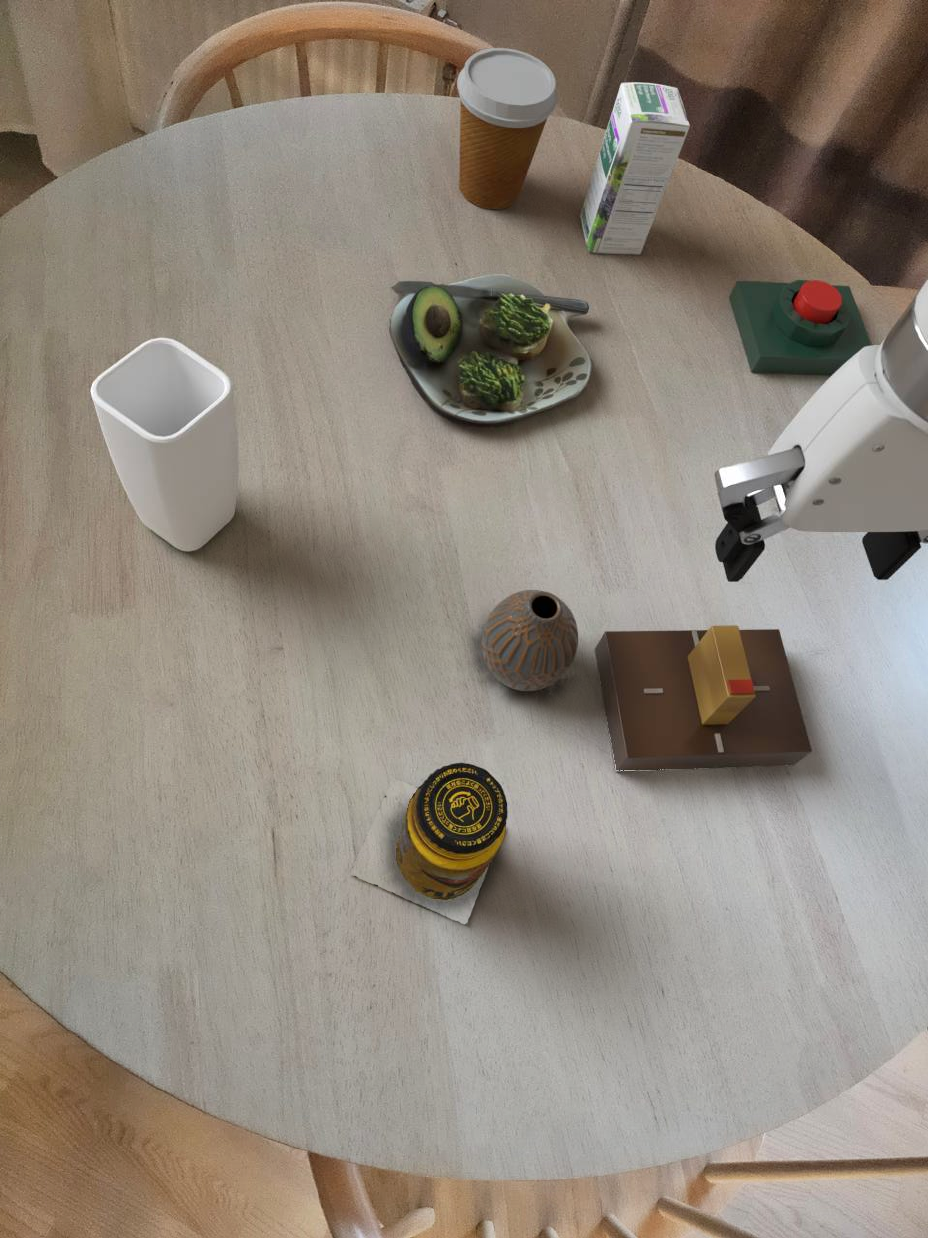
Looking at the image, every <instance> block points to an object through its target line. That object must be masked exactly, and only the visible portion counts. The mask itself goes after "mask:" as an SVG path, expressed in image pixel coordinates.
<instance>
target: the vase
mask: <svg viewBox="0 0 928 1238" xmlns="http://www.w3.org/2000/svg"><path fill="white" fill-rule="evenodd" d="M578 646H579V629H578V625H577V621H576V617H575V616H574V614H573V612H572V610H571V609H570V607H569V606H568V605H567V604H566V603H565V602H564V601H563V600H562V599H560V598H559V597H558V596H556V595H555V594H554V593H551V592H549V591H544V590H541V589H525V590H521V591H517V592H514V593H512V594H510V595H508V596H506V597H505V598H504V599H502V600H501V601H500V602H499V603H498V604H497V605H495V607H494V608H493V609H492V611H491V612H490V614H489V615H488V617H487V620H486V621H485V624H484V627H483V630H482V634H481V650H482V656H483V659H484V662H485V665H486V667H487V669H488V670H489V672H490V673H491V674H492V676H493V677H494V678H495V679H496V680H497V681H498V682H500V683H501V684H503V685H504V686H505V687H508V688H509V689H512V690H517V691H522V692H534V691H535V692H536V691H540V690H543V689H545V688H548V687H550V686H552V685H553V684H555V683H556V682H557V681H559V680H561V678H562V677H564V675H566V673H567V672H568V670H569V669H570V667H571V666H572V664H573V662H574V661H575V657H576V655H577V651H578Z"/></svg>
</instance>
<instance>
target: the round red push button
mask: <svg viewBox="0 0 928 1238" xmlns="http://www.w3.org/2000/svg"><path fill="white" fill-rule="evenodd" d="M810 280H811V279H810ZM832 285H833V284H830V283H829V282H826V281H823V280H817V279H813V280H811V281H808V282H806V283H805V284H803V286H802V287H801V289H800V291H799V293H798V294H797V296H796V298H795V300H794V304H793V305H794V309H795V311H796V312H797V313H798V314H800V315H801V316H802V317H803V318H804V319H806V320H809V321H811V322H813V323H817V324H826V323H828V322H830V321H831V320H832V319H833V317H834V315H835V314H836V312H837V311H838V309H839V308H840V306H841V304H842V297H841V295H840V293H839V292H838V290H837V289H836V288H834V287H833V286H832Z"/></svg>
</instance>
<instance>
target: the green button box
mask: <svg viewBox="0 0 928 1238" xmlns="http://www.w3.org/2000/svg"><path fill="white" fill-rule="evenodd" d="M808 281H811V279H810V280H809V279H796V280H794V281H791V282H776V281H775V282H774V281H758V280H757V281H755V280H736V282H735V284H734V285H733V288H732V290H731V292H730V294H729V296H728V299H729V303H730V306H731V309H732V313H733V317H734V320H735V322H736V326H737V330H738V333H739V337H740V339H741V344H742V346H743V349H744V352H745V353H744V354H745V355H746V359H747V363H748V366H749V369H750V370H749V371H750V373H751V374H773V375H774V374H775V375H800V376H805V375H806V376H828V377H831V376H832V375H833V374H834V373H835V372H836V371H837V370H838V369H839V368H840V367H841V366H842V365H843V364H845V363H846V362H847V361H848V360H849V359H850V358H851V357H853V356H854V355H855V354H856V353H858V352H859V351H860V350H861V349H862V348H864V347H866V346H872V341H871V339H870V336H869V334H868V331H867V328H866V326H865V323H864V321H863V318H862V316H861V313H860V311H859V308H858V305H857V301H856V299H855V298H854V295H853V292H852V289H851V287H850V286H849V285H833V284H831V285H832V286H833V287H834V288H836V289H837V290H838V292H839V293H840V295H841V297H842V304H841V306H840V308H839V309H838V311H837V312H836V314H835V315H834V317H833V319H832V320H831V321H830V322H828V323H826V324H817V323H813V322H811V321H809V320H806V319H804V318H803V317H802V316H801V315H800V314H798V313H797V312H796V311H795V309H794V305H793V304H794V300H795V298H796V296H797V294H798V293H799V291H800V289H801V287H802V286H803V284H805V283H806V282H808Z"/></svg>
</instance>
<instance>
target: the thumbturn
mask: <svg viewBox="0 0 928 1238" xmlns="http://www.w3.org/2000/svg"><path fill="white" fill-rule="evenodd" d="M739 628H740V627H739V625H737V624H736V625H711V626H710V627H709V629H707V630H708V631H707V632H706V634H705V635H704V636H703V638H702V639H701V640H700V641H699V643H698V644H697V645H696V646H695V648H694V649H693V650H692V652H691V653H690V654H689V655H688V662H689V666H690V671H691V675H692V680H693V685H694V689H695V694H696V698H697V703H698V707H699V712H700V717H701V721H702V725H715V724H728V723H729V722H730V721H731V720H732V719H734V718H735V717H736V716H737V715H738V714H739V713H740V712H741V711H742V710H743V709H744V708H745V707H746V706H747V705H748V704H749V703H750V702H751V701H752V700H753V699H754V698H755V692H754V688H753V684H752V680H751V676H750V672H749V668H748V664H747V660H746V656H745V652H744V648H743V644H742V640H741V636H740V632H739V630H740V629H739Z"/></svg>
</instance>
